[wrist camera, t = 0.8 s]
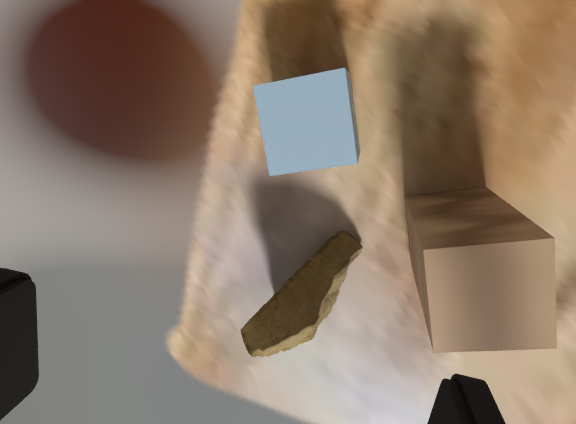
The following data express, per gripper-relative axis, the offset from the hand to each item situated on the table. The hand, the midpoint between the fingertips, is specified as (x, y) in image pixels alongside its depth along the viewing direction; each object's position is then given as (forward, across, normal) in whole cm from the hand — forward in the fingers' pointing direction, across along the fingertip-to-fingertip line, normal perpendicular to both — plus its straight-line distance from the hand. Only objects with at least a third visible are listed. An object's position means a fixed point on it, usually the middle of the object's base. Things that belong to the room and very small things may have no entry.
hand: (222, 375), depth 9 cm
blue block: (+25, +1, -4) cm, 25 cm away
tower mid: (+19, -11, +2) cm, 22 cm away
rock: (+25, -2, +10) cm, 27 cm away
